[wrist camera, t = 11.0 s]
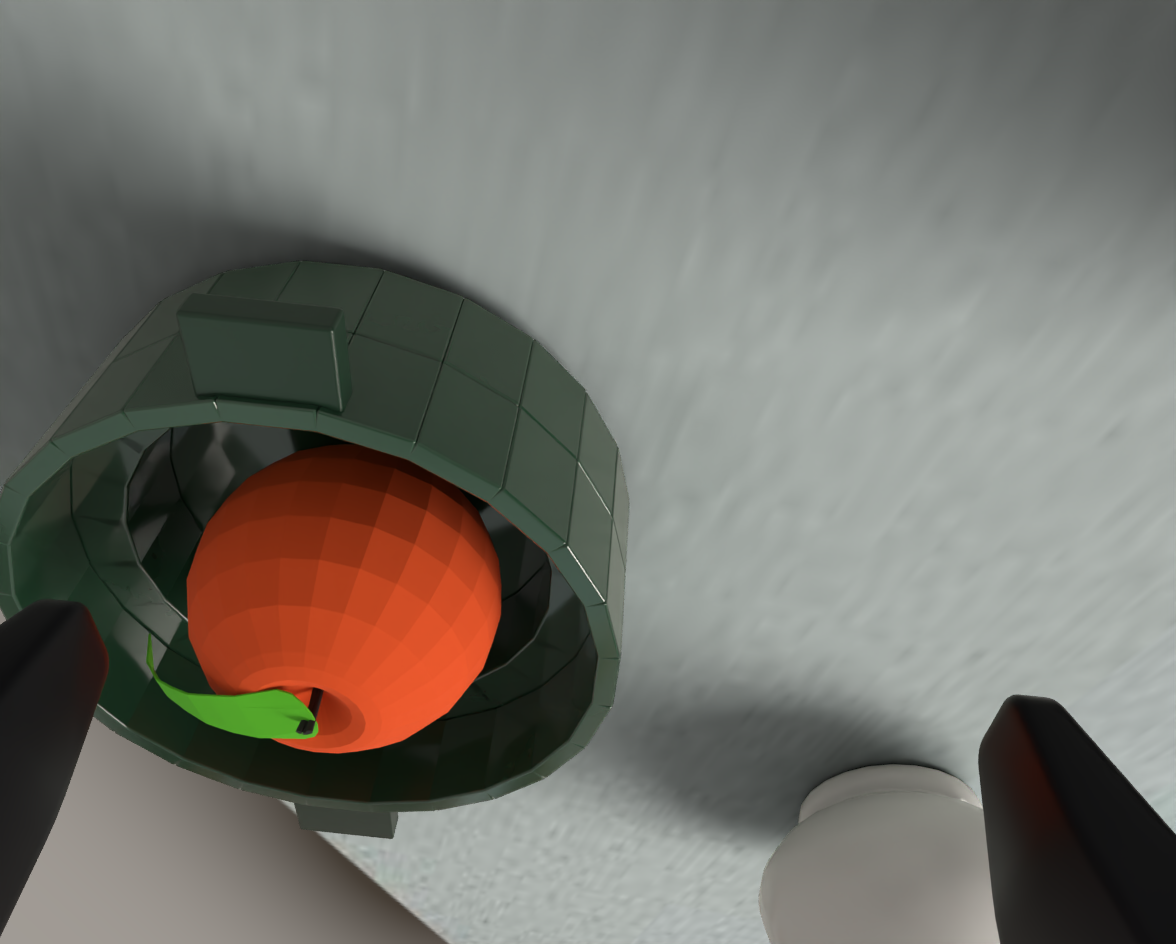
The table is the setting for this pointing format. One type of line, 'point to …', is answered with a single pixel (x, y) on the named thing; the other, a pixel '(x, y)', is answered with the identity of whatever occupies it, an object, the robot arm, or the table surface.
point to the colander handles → (286, 374)
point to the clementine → (339, 602)
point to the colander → (278, 429)
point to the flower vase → (882, 863)
